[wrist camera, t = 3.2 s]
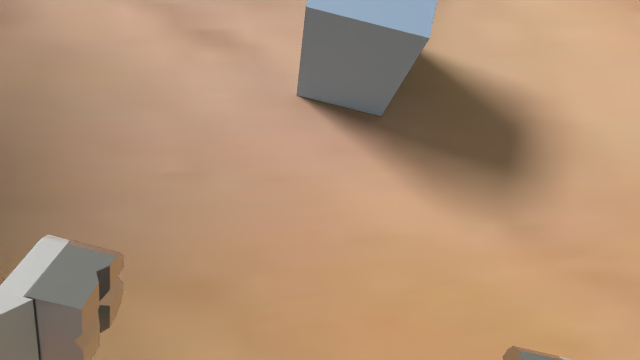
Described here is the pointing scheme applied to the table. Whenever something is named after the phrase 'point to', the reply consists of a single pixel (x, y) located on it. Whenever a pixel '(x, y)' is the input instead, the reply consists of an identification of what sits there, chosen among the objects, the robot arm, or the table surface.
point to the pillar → (361, 50)
